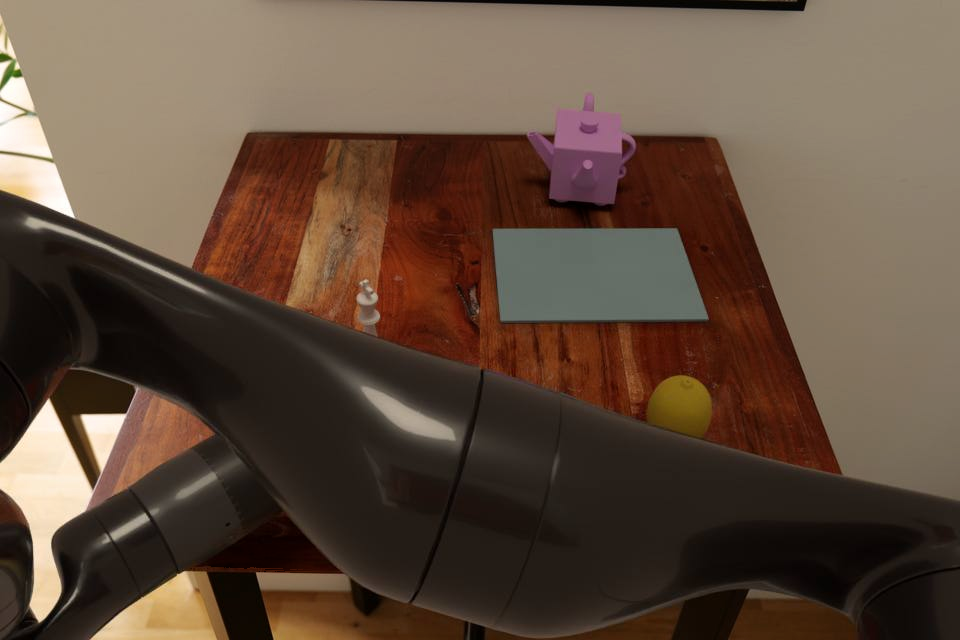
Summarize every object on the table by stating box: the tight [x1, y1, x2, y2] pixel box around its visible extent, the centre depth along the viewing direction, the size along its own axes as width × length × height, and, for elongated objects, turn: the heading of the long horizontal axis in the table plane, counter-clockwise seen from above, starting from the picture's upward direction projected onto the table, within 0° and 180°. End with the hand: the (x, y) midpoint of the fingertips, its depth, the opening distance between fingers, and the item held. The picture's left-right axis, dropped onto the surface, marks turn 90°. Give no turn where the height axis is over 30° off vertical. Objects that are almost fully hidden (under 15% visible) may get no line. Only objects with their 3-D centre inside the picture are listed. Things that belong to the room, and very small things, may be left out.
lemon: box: [646, 374, 713, 439], centre depth 75 cm, size 6×6×8 cm
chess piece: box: [355, 278, 381, 336], centre depth 81 cm, size 5×5×10 cm
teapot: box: [526, 92, 637, 207], centre depth 105 cm, size 18×13×10 cm
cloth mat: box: [491, 227, 710, 324], centre depth 95 cm, size 16×22×1 cm
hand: (396, 384), depth 70 cm, fingers closed on pill bottle, 5 cm apart
